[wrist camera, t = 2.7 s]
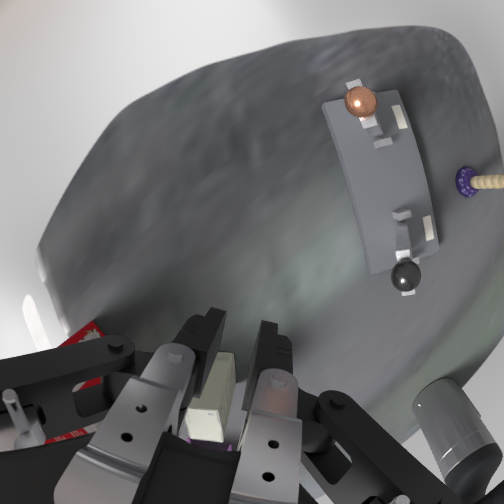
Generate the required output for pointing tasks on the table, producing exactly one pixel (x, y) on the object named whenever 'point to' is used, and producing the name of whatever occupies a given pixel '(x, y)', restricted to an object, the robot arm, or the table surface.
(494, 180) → the toy lamp
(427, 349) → the table surface
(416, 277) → the black knob lever
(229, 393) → the skincare box
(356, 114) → the copper knob lever
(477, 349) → the table surface
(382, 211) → the switch panel
